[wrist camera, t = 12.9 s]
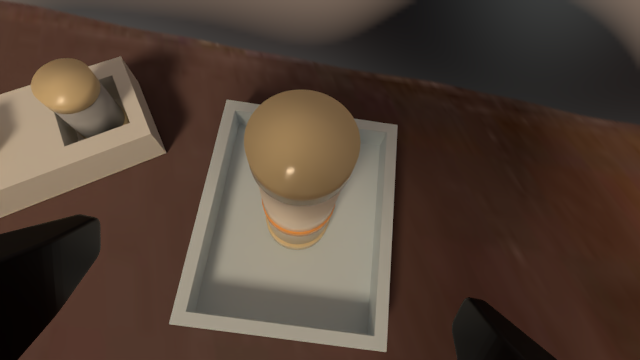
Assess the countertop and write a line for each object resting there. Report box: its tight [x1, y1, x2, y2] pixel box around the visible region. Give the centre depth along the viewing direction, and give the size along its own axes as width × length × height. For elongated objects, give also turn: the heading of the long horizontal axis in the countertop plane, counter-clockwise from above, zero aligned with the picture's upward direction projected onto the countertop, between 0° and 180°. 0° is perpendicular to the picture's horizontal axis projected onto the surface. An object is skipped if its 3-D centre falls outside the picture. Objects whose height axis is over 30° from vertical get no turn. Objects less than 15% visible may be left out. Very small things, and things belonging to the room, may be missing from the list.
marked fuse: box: [244, 90, 361, 250], centre depth 15 cm, size 3×3×10 cm
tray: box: [169, 100, 398, 352], centre depth 19 cm, size 12×10×2 cm
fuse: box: [31, 58, 130, 139], centre depth 19 cm, size 3×3×4 cm
